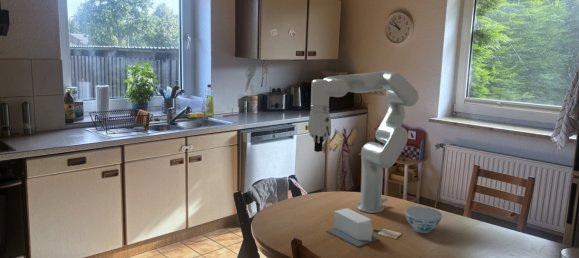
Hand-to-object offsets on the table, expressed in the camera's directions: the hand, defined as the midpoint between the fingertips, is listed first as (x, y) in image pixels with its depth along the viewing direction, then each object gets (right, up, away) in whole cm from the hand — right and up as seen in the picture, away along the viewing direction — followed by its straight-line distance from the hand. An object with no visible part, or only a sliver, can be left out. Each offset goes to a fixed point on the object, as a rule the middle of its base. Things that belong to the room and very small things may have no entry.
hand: (318, 151), depth 211 cm
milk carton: (+9, -28, -2) cm, 29 cm away
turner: (+25, -33, -6) cm, 42 cm away
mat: (+13, -34, -10) cm, 38 cm away
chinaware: (+44, -33, -3) cm, 55 cm away
